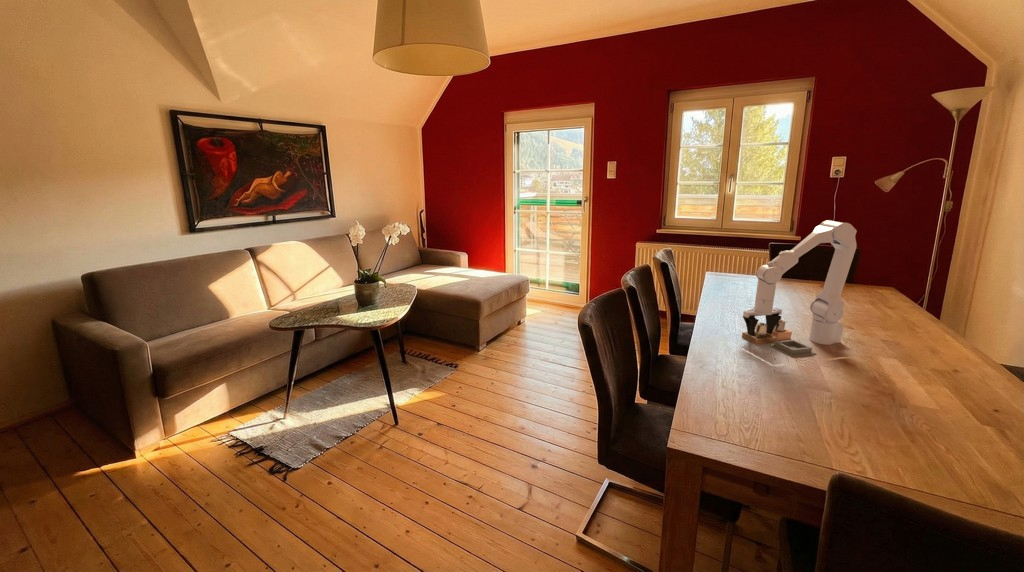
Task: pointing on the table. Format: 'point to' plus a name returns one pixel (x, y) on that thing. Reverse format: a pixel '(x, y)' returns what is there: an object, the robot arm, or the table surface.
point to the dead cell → (780, 326)
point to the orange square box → (782, 334)
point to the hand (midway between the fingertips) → (759, 334)
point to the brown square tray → (755, 340)
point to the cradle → (793, 348)
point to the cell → (760, 330)
